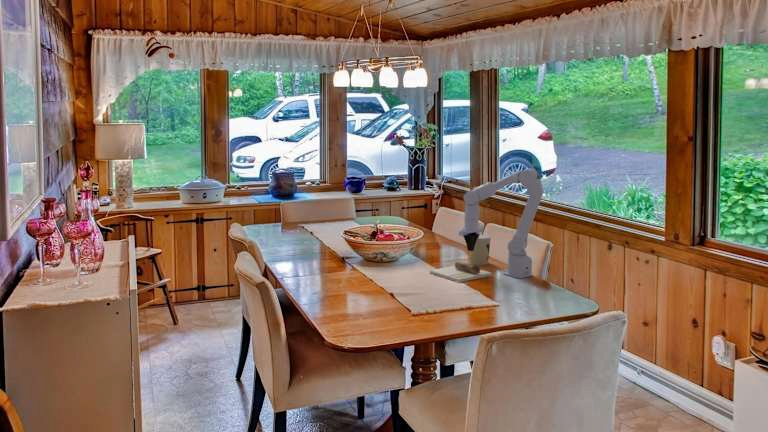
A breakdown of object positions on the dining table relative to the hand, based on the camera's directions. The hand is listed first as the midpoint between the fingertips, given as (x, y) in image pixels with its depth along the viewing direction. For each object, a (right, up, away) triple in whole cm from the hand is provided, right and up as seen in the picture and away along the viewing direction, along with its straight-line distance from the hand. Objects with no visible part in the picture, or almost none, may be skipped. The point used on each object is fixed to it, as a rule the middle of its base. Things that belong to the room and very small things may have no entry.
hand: (470, 250), depth 288 cm
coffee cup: (+6, -6, +14) cm, 16 cm away
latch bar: (-2, -8, -6) cm, 10 cm away
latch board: (-5, -10, -6) cm, 12 cm away
